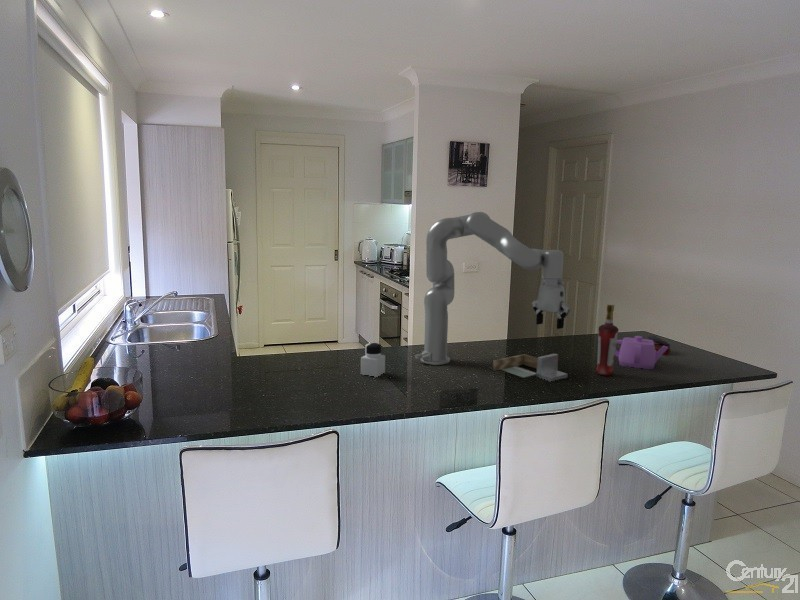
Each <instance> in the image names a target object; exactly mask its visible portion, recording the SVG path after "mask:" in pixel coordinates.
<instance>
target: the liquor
mask: <svg viewBox="0 0 800 600" xmlns="http://www.w3.org/2000/svg"><path fill="white" fill-rule="evenodd" d="M614 311H615V305H614V304H606V317H605V322H604V324H601V325H600V326H598V333H597V334H598V336H597V360H596V361H597V362H596V369H595V371H596V373H597V374H598V375H599V376H602V375H603V377H609V376H611V375H613V374H614V373H615V372H614V365H615V364H614V363H615V357H616V356H615V349H616V350H617V344H618V343H617V340H618V337H619V336H618V335H619V328H618V327H617V326H616V325H614Z"/></svg>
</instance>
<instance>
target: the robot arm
mask: <svg viewBox="0 0 800 600" xmlns="http://www.w3.org/2000/svg"><path fill="white" fill-rule="evenodd" d="M472 235H473V236H476V237H477V238H479V239H481V240H482V241H483V242H485V243H487V244H489V245H490V246H492V247H493V248H494V249H495V250H497V251H498V252H500V254H502V255H503V256H505V257H506V258H508V259H509V260H511V261H512V262H513V263H515V264H517V265H519V266H520V267H521V268H522V269H525V270H528V271H532V270H533V271H534V270H536V269H537V268H542V271H541V284H540V285H539V289H538V295H537V299H536V300H534V301H532V302H531V304H532V307H533V308H532V309H533V310H534V313H535V315H536V320H535V322H536V325H542V324H544V312H548V313H553V314H556V316H557V317H558V318H557V319H556V329H557V330H560V329H563V328H564V326H565V323H564V321H565V318H566V317H567V316H569V313H570V311H571V307H570V306H568V305H567V304H566V293H565V288H564V286H563V285H565V281H564V280H563V274H564V273H563V270H564V252H563V251H562V250H559V249H547V250H545V249H539V248H530V247H528V246H527V245H525V244H523V243H522V242H520V240H518V239H517V238H516V237H515V236H513V234H512V233H511V231H510V230H508V229H507V228H506V227H504V226H502V225H501V224H499V223H498V222H496V221H495V220H493V219H491V217H490V216H489V215H488V214H487V213H485V212H484V211H476V212H475V211H474V212H472V213H471V214H465V215H461V216H460V215H459V216H455V217H446V218H445V217H444V218H441V219H439V220H438V221H436V222H434V224H432V225H431V226H430V228H429V229H428V231H427V233H426V241H425V242H426V243H425V244H426V245H425V246H426V254H425V256H426V257H425V259H426V264H425V265H426V267H425V269H426V271H425V272H426V278H427V279H428V281H429V282H430V283H432V287H431V288H429V289H428V290H427V292H426V294H425V295H424V299H423V300H424V301H423V305H424V342H423V343H424V345H423V347H424V349H423V350H422V351H421V353H417V354H415V355H414V359H415V360H420V362H421V363H423V364H426V365H430V366H431V365H432V366H433V365H434V366H440V365H441V366H442V365H448V364H449V363H451V358H450V357H449V356H448V355H447V353H448V352H447V351H448V333H449V329H448V328H449V326H448V325H449V324H448V323H449V313H448V306H449V305H450V304H451V303H452V302H453V301H454V298H455V268H454V265H453V263H452V262H451V261H450V260H448V245H447V243H448V241H449V240H451V239H452V240H453V239H457V238H463V237H467V236H472Z"/></svg>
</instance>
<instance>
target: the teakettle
mask: <svg viewBox="0 0 800 600" xmlns="http://www.w3.org/2000/svg"><path fill="white" fill-rule="evenodd" d="M616 344H617V345H618V344H620V348H619V350H618V349H617V348H616V349H615V356H614V357H617V358H618V364H619V366H620V365H622V366H621V367H625V366H628V367H627V368H631V367H634V368H633V369H639V368H643V369H642V370H650V369H652V370H654V368H655V365H656V362H658V360H659V359H660V358H661V357H662V356H663V355H662V354H663V353H664V352H665V351H666V350H667V348H668V347H667V346H664V345H663V347H662V348H660V349H659V350H658V351H657V352H655V347H654V344H655V342H653V340H649V339H648V338H644V337H643V336H642V335H634V337H627V336H626V337H623V338H622V339H617V343H616Z"/></svg>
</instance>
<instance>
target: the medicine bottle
mask: <svg viewBox="0 0 800 600" xmlns="http://www.w3.org/2000/svg"><path fill="white" fill-rule="evenodd" d="M364 352H365V355H363V356H360V375H361V374H362V375H361V376H364V375H369V376H368V377H370V376H374V377H373V378H376V377H377V378H379V377H380V376H382V375H383V373H384V374H385V373H386V355H385V354H382V345H381V344H380V343H378V342H369V343H366V344H365V349H364ZM381 374H382V375H381ZM378 376H379V377H378Z"/></svg>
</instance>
